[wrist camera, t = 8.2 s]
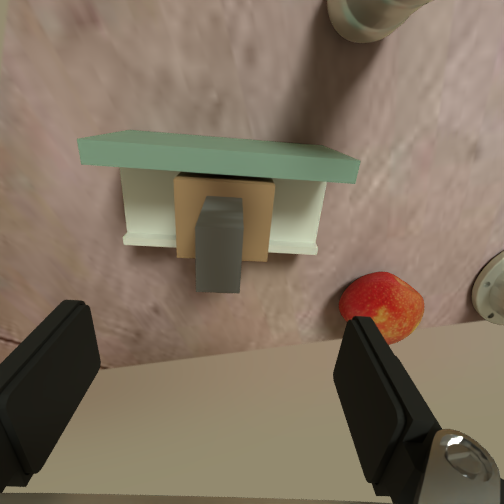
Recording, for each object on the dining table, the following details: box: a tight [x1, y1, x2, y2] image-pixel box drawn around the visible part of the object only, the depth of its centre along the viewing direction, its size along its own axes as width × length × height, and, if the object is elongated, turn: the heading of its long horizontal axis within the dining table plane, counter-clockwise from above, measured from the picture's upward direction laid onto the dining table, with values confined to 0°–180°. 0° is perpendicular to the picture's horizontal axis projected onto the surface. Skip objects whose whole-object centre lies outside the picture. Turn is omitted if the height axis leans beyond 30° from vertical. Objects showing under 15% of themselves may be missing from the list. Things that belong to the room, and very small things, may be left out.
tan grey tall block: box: [173, 171, 275, 293], centre depth 22 cm, size 7×6×13 cm
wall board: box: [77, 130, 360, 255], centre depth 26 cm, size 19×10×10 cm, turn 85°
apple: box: [339, 272, 424, 345], centre depth 33 cm, size 8×8×8 cm
